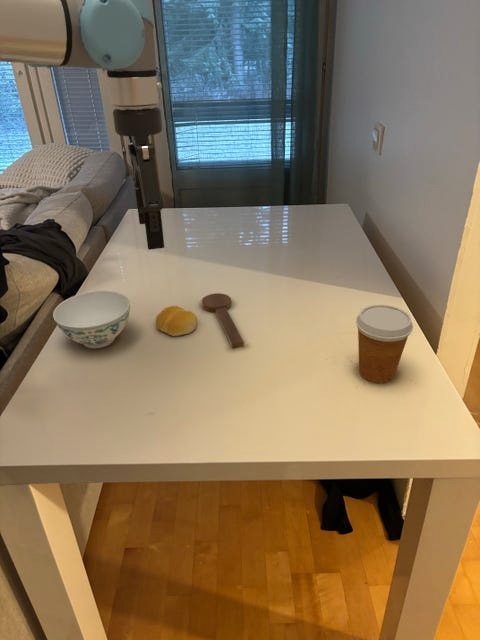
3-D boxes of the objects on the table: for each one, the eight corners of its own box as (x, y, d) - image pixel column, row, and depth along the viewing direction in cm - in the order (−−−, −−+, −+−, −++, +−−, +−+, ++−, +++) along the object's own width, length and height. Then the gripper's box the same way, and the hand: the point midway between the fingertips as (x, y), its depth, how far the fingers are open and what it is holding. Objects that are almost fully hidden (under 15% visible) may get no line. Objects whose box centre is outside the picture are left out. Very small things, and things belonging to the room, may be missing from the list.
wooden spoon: (221, 350, 93) (221, 344, 92) (199, 301, 111) (199, 295, 110) (254, 344, 95) (253, 338, 94) (227, 296, 113) (226, 291, 112)
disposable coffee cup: (349, 385, 83) (355, 328, 77) (351, 355, 91) (357, 301, 84) (405, 392, 81) (416, 334, 74) (402, 360, 89) (412, 305, 82)
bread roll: (179, 341, 96) (177, 325, 94) (150, 328, 101) (147, 312, 99) (206, 324, 102) (205, 308, 100) (177, 312, 107) (175, 297, 105)
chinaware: (83, 318, 106) (76, 288, 102) (145, 324, 103) (141, 293, 99) (47, 356, 93) (37, 323, 89) (117, 364, 90) (110, 330, 86)
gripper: (172, 115, 64) (184, 257, 75) (150, 98, 85) (161, 212, 96) (117, 117, 63) (137, 263, 73) (108, 100, 83) (124, 216, 94)
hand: (151, 234), depth 85 cm, fingers open, 13 cm apart
